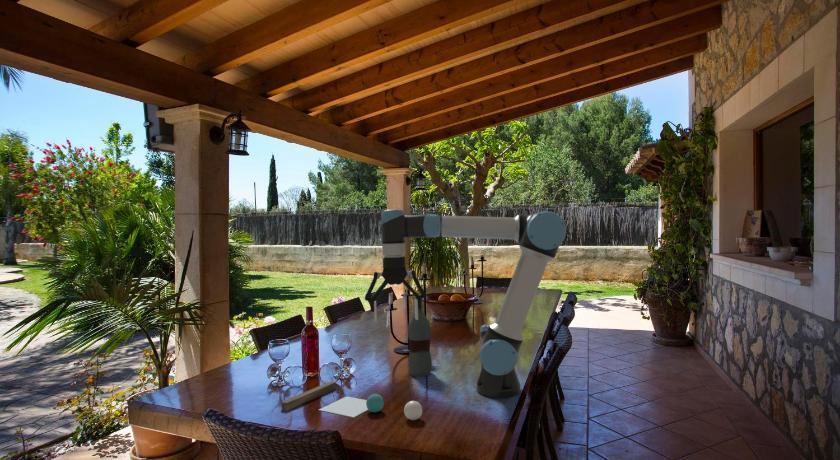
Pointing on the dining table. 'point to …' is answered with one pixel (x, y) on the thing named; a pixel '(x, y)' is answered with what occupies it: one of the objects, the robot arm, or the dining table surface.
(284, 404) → the bar
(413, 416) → the cue ball
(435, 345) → the dining table surface
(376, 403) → the teal ball
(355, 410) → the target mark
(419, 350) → the bottle
